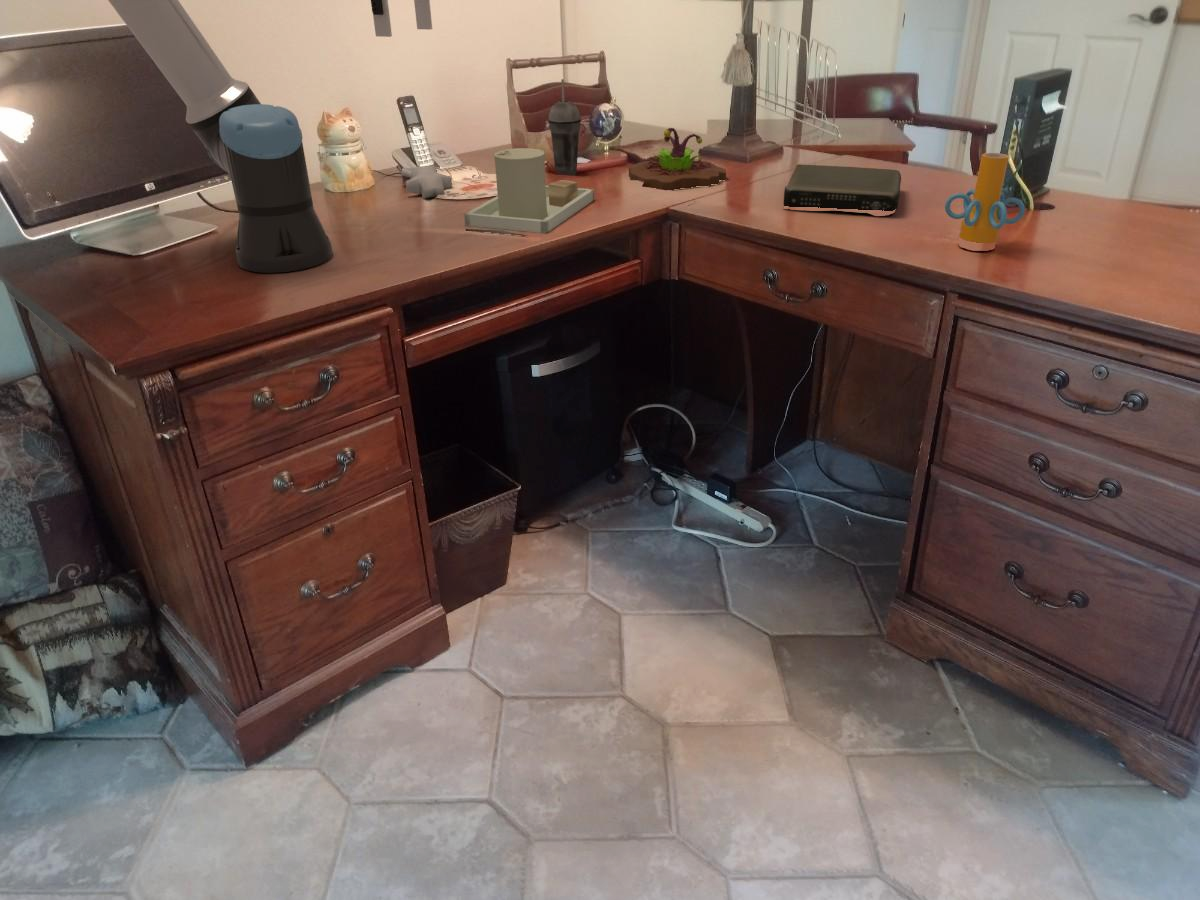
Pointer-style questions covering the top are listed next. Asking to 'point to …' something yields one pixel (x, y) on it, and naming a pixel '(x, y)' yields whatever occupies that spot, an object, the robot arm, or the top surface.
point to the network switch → (843, 188)
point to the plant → (676, 167)
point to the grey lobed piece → (426, 181)
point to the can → (521, 183)
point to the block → (562, 192)
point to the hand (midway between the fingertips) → (405, 33)
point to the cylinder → (986, 202)
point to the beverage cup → (565, 135)
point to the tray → (490, 218)
